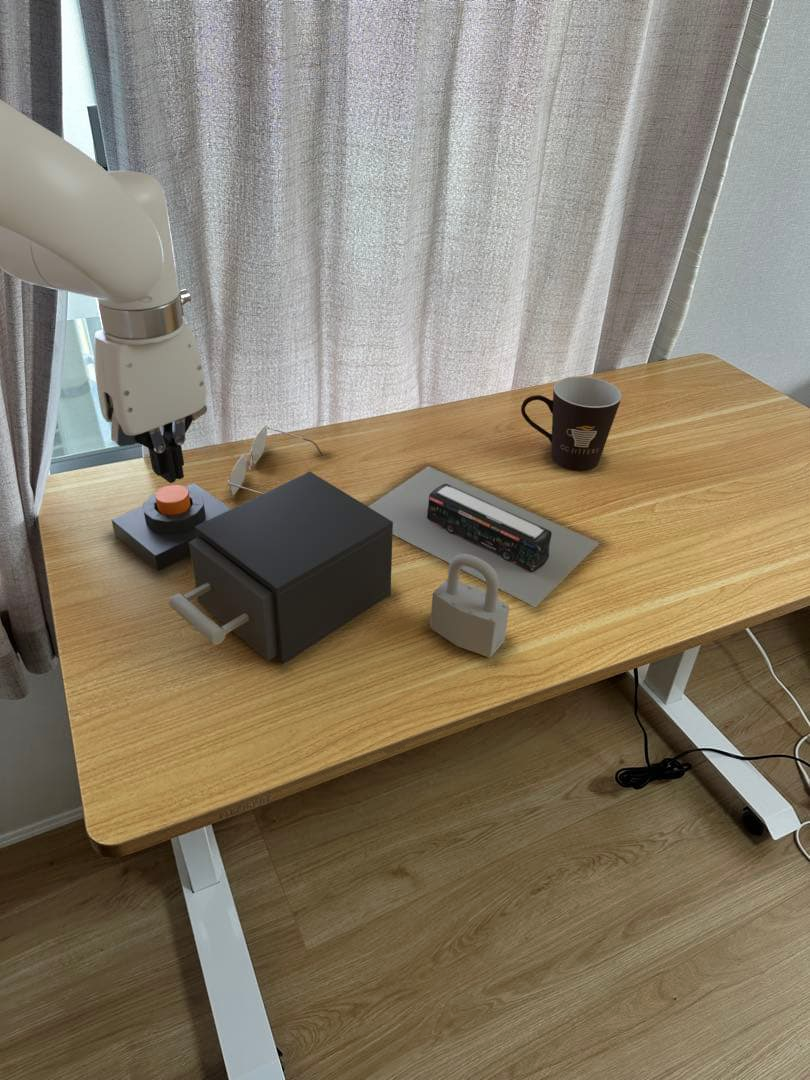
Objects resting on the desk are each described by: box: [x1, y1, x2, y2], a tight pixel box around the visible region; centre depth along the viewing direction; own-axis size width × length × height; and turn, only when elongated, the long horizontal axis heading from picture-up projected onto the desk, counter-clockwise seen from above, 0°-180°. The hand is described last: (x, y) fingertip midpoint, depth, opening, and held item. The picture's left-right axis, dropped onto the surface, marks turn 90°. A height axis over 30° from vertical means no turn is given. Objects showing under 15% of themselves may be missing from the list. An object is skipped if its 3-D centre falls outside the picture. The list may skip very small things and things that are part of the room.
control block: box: [111, 482, 232, 572], centre depth 91 cm, size 11×9×4 cm
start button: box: [155, 484, 190, 515], centre depth 90 cm, size 4×4×2 cm
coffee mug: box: [520, 375, 623, 472], centre depth 106 cm, size 12×9×10 cm
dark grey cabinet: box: [195, 471, 393, 665], centre depth 82 cm, size 15×13×10 cm
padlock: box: [429, 554, 510, 658], centre depth 78 cm, size 7×4×10 cm, turn 56°
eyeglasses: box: [227, 425, 324, 496], centre depth 101 cm, size 14×8×4 cm, turn 168°
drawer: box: [168, 537, 278, 662], centre depth 79 cm, size 18×11×8 cm, turn 136°
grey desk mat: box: [367, 466, 600, 608], centre depth 94 cm, size 14×25×4 cm, turn 52°
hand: (169, 475), depth 88 cm, fingers closed
